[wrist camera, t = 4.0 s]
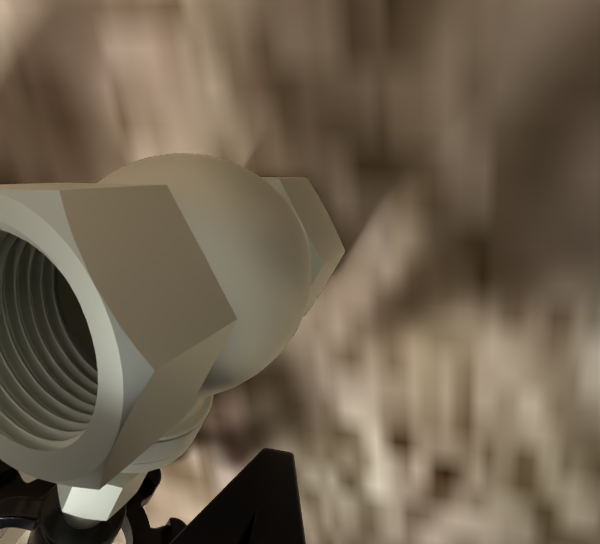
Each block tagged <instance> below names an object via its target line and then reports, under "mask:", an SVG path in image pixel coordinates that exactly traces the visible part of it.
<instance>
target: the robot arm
mask: <svg viewBox="0 0 600 544" xmlns="http://www.w3.org/2000/svg"><path fill="white" fill-rule="evenodd" d="M170 544H306V542H305V535H304V527H303V520H302V513H301V505H300V498H299V490H298V483H297V475H296V468H295V460H294V455H293V454H292V453H290V452H285V451H280V450H275V449H269V448H264V449H263V450H262V451H261V452H260V453H259V454H258V455H257V456H256V457H255V458H254V459H253V460H252V461H251V462H250V463H249V464H248V465H247V466H246V467H245V468H244V469H243V470H242V471H241V472H240V473H239V474H238V475H237V476H236V477H235V478H234V479H233V480H232V481H231V482H230V483H229V484H228V485H227V486H226V487H225V488H224V489H223V490H222V491H221V492H220V493H219V494H218V495H217V496H216V497H215V498H214V499H213V500H212V501H211V502H210V503H209V504H208V505H207V506H206V507H205V508H204V509H203V510H202V511H201V512H200V513H199V514H198V515H197V516H196V517H195V518H194V519H193V520H192V521H191V522H190V523H189V524H188V525H187V526H186V527H185V528H184V529H183V530H182V531H181V532H180V533H179V534H178V535H177V536H176V537H175V538H174V539H173V541H172V542H171V543H170Z"/></svg>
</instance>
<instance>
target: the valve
mask: <svg viewBox="0 0 600 544" xmlns="http://www.w3.org/2000/svg"><path fill="white" fill-rule="evenodd" d="M344 253H345V250H344V247H343V245H342V242H341V240H340V238H339V236H338V233H337V231H336V229H335V227H334V225H333V223H332V221H331V219H330V217H329V214H328V213H327V211H326V209H325V207H324V205H323V204H322V202H321V200H320V198H319V196H318V195H317V193H316V191H315V190H314V188H313V186H312V185H311V183H310V181H309V180H308V178H302V177H259V176H258V175H257V174H255V173H253V172H252V171H250V170H248V169H246V168H244V167H242V166H240V165H238V164H235V163H233V162H231V161H227V160H223V159H220V158H216V157H212V156H209V155H202V154H187V153H173V154H166V155H160V156H154V157H148V158H144V159H141V160H138V161H136V162H133V163H131V164H129V165H126V166H124V167H121V168H119V169H117V170H115V171H113V172H111V173H110V174H108V175H106V176H105V177H104V178H102V179H101V180H100V181H98V182H97V183H30V184H0V538H1V537H2V536H3V535H4V533H5V532H6V531H7V530H8V528H20V529H25V530H30V531H31V533H30V536H29V539H28V542H27V544H112V543H113V542H114V540H115V538H116V536H117V534H118V532H119V530H120V528H122V530H123V532H124V535H125V539H126V544H170V543H171V542H172V541H173V539H174V538H175V537H176V536H177V535H178V534H179V533H180V532H181V531H182V530H183V529H184V528H185V527H186V526H187V525H186V524H185V523H184V522H183V521H182V520H180V519H177V518H170V519H169V521H168V522H167V524H166V526H161V527H159V528H151V527H150V525H149V521H148V518H147V515H146V513H145V511H144V509H143V507H142V506H144V505H146V504H147V503H148V502H149V501H150V499H151V498H152V496H153V494H154V492H155V491H156V489H157V487H158V485H159V483H160V481H161V471H160V469H159V468H162V467H164V466H166V465H168V464H170V463H172V462H173V461H175V460H176V459H177V458H179V457H180V456H181V455H182V454H184V452H185V451H186V450H187V449H188V448H189V446H190V445H191V444H192V442H193V440H194V439H195V437H196V435H197V433H198V432H199V430H200V428H201V426H202V424H203V423H204V421H205V419H206V418H207V416H208V414H209V412H210V410H211V406H212V402H213V395H214V394H217V393H220V392H223V391H227V390H229V389H232V388H234V387H236V386H238V385H240V384H241V383H243V382H245V381H247V380H248V379H250V378H252V377H253V376H255V375H257V374H258V373H259V372H261V371H262V370H263V369H264V368H265V367H266V366H268V365H269V364H270V363H271V362H272V361H273V360H274V359H275V358H276V357H277V356H278V355H279V354H280V353H281V352H282V350H283V349H284V348H285V346H286V345H287V344H288V342H289V341H290V339H291V338H292V337H293V335H294V334H295V332H296V330H297V328H298V326H299V324H300V322H301V320H302V317H304V316H305V315H306V314H307V312H308V311H309V309H310V308H311V306H312V305H313V303H314V302H315V300H316V299H317V297H318V296H319V294H320V293H321V291H322V290H323V288H324V286H325V285H326V283H327V282H328V280H329V278H330V277H331V275H332V274H333V272H334V270H335V269H336V267H337V265H338V263H339V262H340V260H341V258H342V256H343V255H344ZM19 471H20V472H23V473H25V474H27V475H29V476H32V477H35V478H38V479H36V480H33V481H31V482H29V483H27V482H25V481H24V480H23V479H22V477H21V475H20V473H19Z"/></svg>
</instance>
